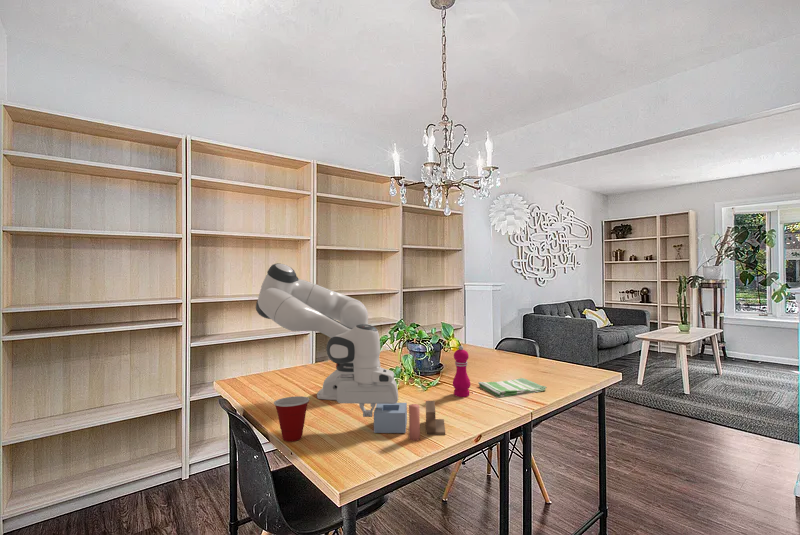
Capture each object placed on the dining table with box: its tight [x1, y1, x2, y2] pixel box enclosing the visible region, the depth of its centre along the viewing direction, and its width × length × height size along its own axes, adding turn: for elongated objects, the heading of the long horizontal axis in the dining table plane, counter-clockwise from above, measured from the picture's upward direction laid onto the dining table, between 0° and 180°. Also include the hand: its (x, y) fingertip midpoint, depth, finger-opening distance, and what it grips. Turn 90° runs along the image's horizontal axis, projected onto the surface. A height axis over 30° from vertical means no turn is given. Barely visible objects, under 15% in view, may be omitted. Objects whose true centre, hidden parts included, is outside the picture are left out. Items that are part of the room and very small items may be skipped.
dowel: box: [408, 403, 421, 441], centre depth 127 cm, size 3×3×10 cm
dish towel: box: [478, 377, 547, 398], centre depth 177 cm, size 18×23×3 cm
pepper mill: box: [452, 345, 472, 398], centre depth 170 cm, size 7×7×20 cm
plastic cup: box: [273, 395, 310, 443], centre depth 129 cm, size 11×11×12 cm
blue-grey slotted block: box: [373, 402, 408, 434], centre depth 136 cm, size 10×10×6 cm
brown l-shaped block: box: [425, 400, 446, 436], centre depth 135 cm, size 6×11×7 cm, turn 176°
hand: (367, 416), depth 137 cm, fingers closed
